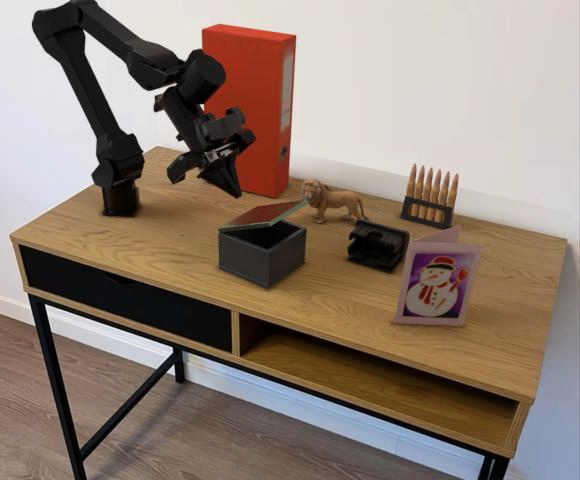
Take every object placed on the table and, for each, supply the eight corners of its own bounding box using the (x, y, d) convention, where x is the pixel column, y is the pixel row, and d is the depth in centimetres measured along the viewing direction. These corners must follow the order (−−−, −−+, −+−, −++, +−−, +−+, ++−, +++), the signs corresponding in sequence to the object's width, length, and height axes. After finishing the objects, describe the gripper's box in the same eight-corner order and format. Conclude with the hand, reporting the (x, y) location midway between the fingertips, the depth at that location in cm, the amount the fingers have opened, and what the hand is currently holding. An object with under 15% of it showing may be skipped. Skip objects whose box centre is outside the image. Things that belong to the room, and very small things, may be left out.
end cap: (406, 258, 122) (412, 226, 118) (393, 274, 117) (399, 242, 113) (358, 245, 126) (362, 213, 121) (344, 260, 120) (347, 227, 116)
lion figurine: (300, 226, 131) (302, 184, 125) (298, 214, 135) (300, 174, 129) (370, 227, 132) (376, 186, 126) (366, 215, 136) (371, 175, 131)
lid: (308, 203, 111) (307, 198, 111) (270, 226, 104) (268, 222, 103) (258, 210, 119) (257, 206, 118) (218, 232, 111) (217, 228, 111)
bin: (304, 263, 119) (307, 228, 114) (268, 289, 111) (269, 252, 106) (257, 245, 123) (257, 210, 119) (218, 268, 116) (218, 232, 111)
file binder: (222, 171, 152) (220, 22, 132) (288, 185, 147) (296, 34, 127) (205, 182, 146) (200, 29, 126) (274, 198, 141) (279, 41, 121)
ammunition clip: (400, 218, 136) (409, 163, 129) (403, 214, 137) (412, 160, 130) (448, 230, 132) (460, 175, 125) (451, 227, 134) (463, 172, 126)
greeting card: (394, 326, 104) (409, 244, 95) (389, 301, 110) (402, 222, 101) (463, 328, 104) (485, 247, 95) (454, 303, 110) (473, 225, 101)
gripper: (175, 105, 98) (231, 192, 100) (249, 81, 110) (297, 159, 112) (142, 143, 106) (195, 223, 108) (214, 116, 118) (260, 189, 121)
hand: (239, 197), depth 112 cm, fingers closed
